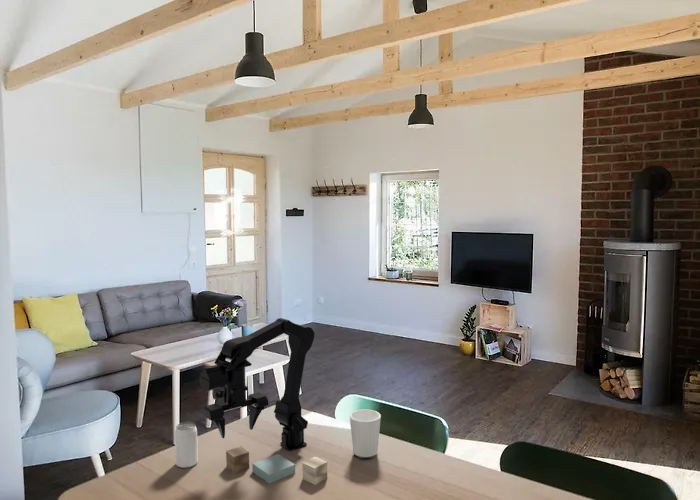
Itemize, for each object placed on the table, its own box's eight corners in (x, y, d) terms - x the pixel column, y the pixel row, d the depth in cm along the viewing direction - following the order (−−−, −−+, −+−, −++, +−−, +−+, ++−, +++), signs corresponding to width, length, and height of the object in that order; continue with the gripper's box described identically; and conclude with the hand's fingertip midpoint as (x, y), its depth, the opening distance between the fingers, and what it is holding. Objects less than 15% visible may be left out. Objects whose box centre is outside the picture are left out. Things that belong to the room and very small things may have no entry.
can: (191, 469, 161) (190, 430, 160) (171, 467, 162) (170, 429, 161) (201, 459, 167) (200, 422, 166) (182, 457, 169) (181, 420, 168)
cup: (344, 458, 167) (344, 418, 166) (356, 445, 176) (356, 407, 175) (375, 464, 163) (374, 423, 162) (385, 450, 173) (385, 411, 171)
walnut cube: (241, 461, 166) (241, 446, 165) (249, 468, 162) (248, 452, 161) (226, 466, 163) (226, 450, 162) (234, 473, 159) (233, 457, 158)
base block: (278, 463, 165) (278, 453, 165) (295, 474, 159) (295, 464, 158) (252, 473, 159) (252, 463, 159) (269, 485, 153) (269, 474, 152)
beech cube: (315, 472, 159) (314, 456, 158) (327, 478, 155) (327, 461, 155) (302, 479, 155) (302, 462, 155) (315, 485, 152) (314, 468, 151)
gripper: (250, 370, 172) (252, 417, 173) (194, 382, 161) (196, 433, 162) (268, 378, 163) (269, 428, 165) (210, 392, 152) (212, 446, 153)
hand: (237, 433), depth 161 cm, fingers open, 9 cm apart
